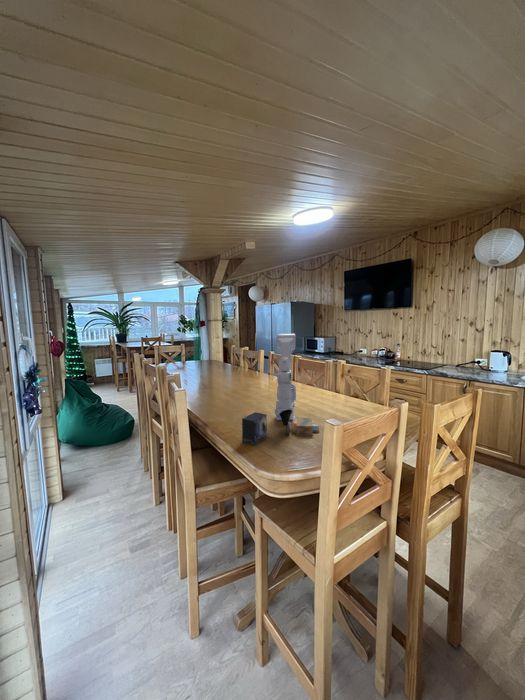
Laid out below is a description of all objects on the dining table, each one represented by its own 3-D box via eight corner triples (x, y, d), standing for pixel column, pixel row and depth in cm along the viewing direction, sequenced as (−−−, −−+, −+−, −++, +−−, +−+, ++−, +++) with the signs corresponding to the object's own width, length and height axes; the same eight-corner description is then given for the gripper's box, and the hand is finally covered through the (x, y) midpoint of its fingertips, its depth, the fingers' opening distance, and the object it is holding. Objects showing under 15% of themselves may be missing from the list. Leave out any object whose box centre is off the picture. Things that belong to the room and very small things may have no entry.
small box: (254, 445, 126) (253, 420, 125) (241, 442, 130) (240, 418, 129) (267, 437, 135) (267, 413, 134) (255, 434, 139) (254, 411, 138)
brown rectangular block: (293, 433, 140) (293, 424, 139) (293, 428, 146) (293, 419, 145) (319, 433, 139) (319, 424, 138) (318, 428, 145) (318, 420, 144)
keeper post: (285, 435, 136) (285, 427, 136) (285, 434, 138) (285, 426, 138) (289, 435, 136) (289, 427, 136) (289, 434, 138) (289, 426, 137)
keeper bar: (288, 426, 146) (288, 421, 146) (291, 426, 146) (291, 422, 146) (286, 432, 138) (286, 428, 138) (289, 432, 138) (289, 428, 138)
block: (296, 435, 137) (296, 426, 136) (296, 425, 149) (296, 417, 148) (312, 435, 136) (312, 426, 136) (311, 426, 148) (311, 417, 147)
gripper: (283, 401, 135) (284, 431, 137) (300, 394, 147) (300, 422, 148) (270, 399, 140) (271, 428, 141) (287, 393, 151) (287, 420, 153)
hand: (285, 425), depth 145 cm, fingers closed
